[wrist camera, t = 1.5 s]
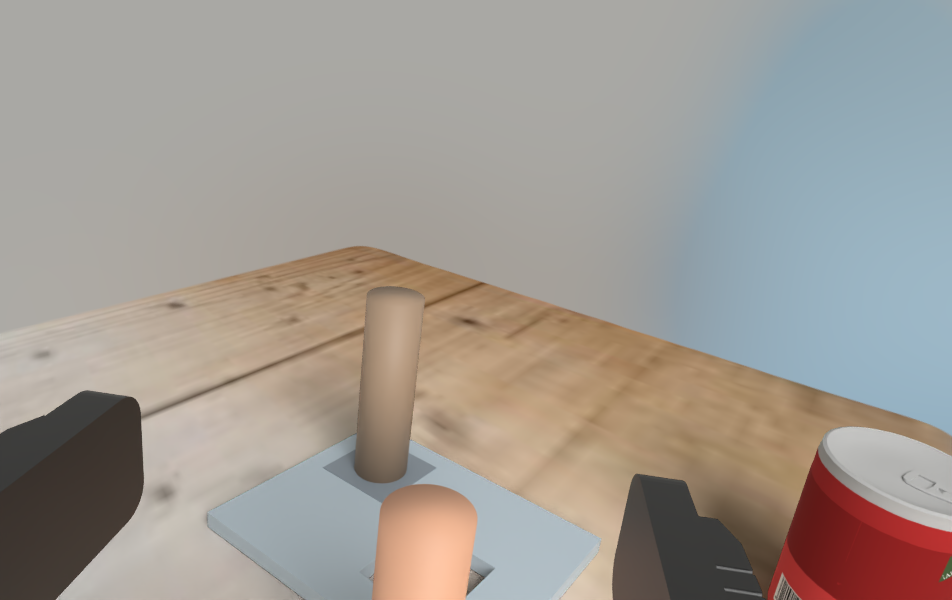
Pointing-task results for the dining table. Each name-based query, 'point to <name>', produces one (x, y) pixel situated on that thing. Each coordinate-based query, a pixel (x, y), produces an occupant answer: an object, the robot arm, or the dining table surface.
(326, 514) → the board
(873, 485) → the canned food
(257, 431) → the dining table surface
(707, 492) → the dining table surface
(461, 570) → the wooden peg
